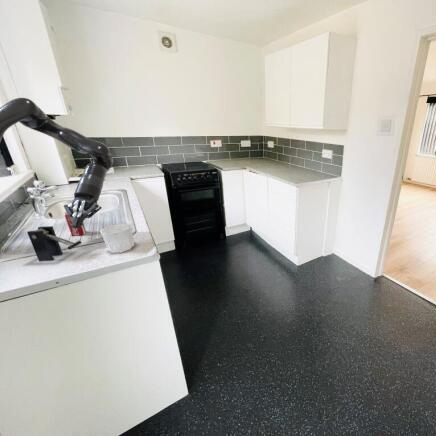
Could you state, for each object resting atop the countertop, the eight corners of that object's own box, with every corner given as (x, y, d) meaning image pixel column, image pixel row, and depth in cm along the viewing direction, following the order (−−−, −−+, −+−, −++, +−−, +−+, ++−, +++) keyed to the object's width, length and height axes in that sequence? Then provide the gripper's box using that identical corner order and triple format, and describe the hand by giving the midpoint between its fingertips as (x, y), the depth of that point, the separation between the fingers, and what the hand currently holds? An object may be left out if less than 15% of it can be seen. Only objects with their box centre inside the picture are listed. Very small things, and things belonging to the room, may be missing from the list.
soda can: (70, 239, 109) (61, 213, 105) (74, 234, 114) (66, 210, 110) (84, 237, 111) (76, 212, 107) (88, 233, 116) (80, 209, 112)
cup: (130, 255, 94) (123, 232, 91) (101, 258, 93) (94, 234, 89) (141, 244, 103) (135, 222, 100) (115, 246, 102) (109, 224, 98)
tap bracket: (74, 254, 95) (63, 224, 91) (57, 265, 88) (44, 233, 83) (48, 255, 95) (35, 225, 90) (28, 266, 87) (13, 233, 83)
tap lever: (80, 245, 92) (82, 240, 92) (70, 251, 88) (71, 246, 87) (43, 232, 90) (44, 226, 89) (30, 237, 85) (31, 232, 85)
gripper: (112, 192, 101) (100, 231, 94) (79, 193, 100) (64, 232, 93) (100, 182, 94) (86, 223, 87) (64, 183, 94) (47, 224, 86)
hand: (75, 227), depth 90 cm, fingers closed
